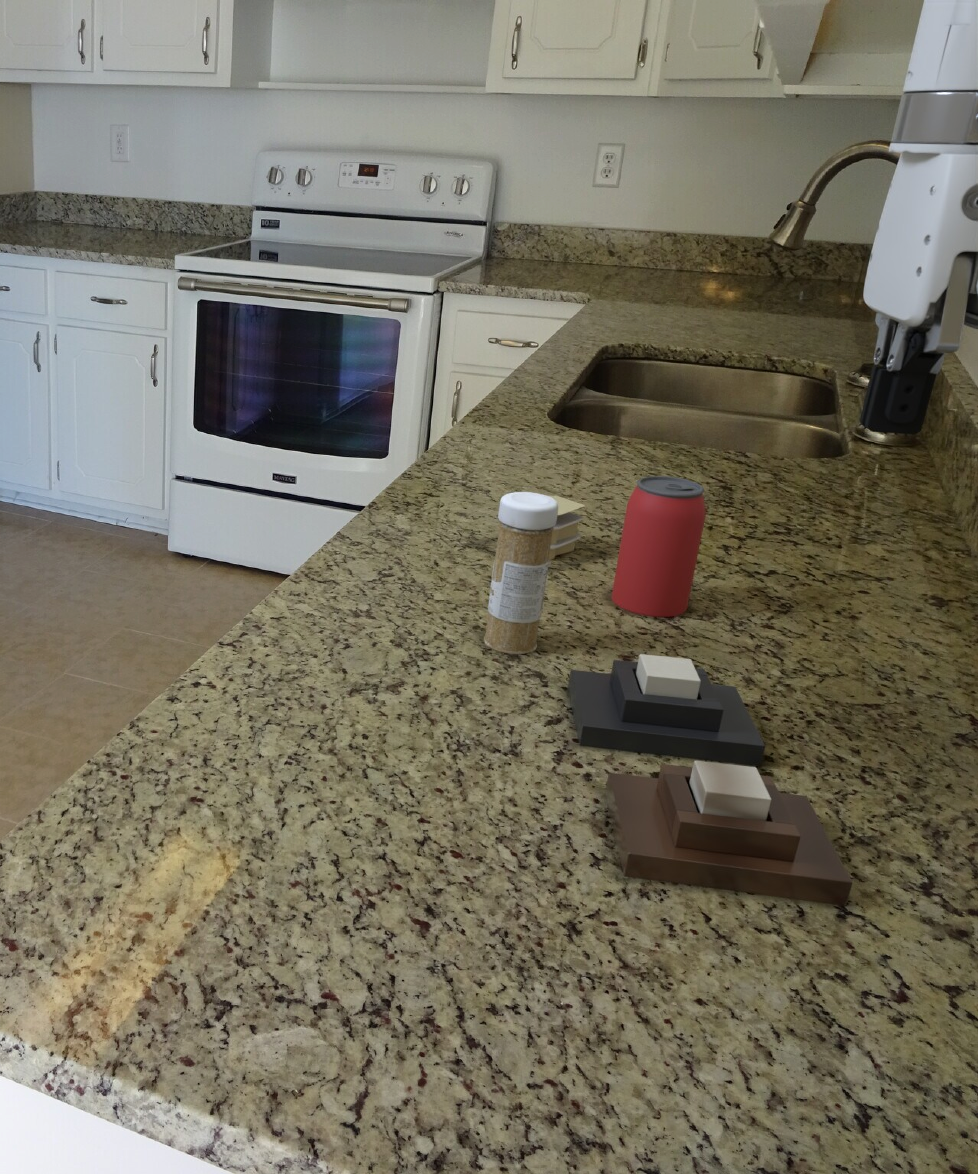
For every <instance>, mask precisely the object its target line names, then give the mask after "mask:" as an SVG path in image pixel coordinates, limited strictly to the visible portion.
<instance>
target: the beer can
mask: <svg viewBox="0 0 978 1174" xmlns="http://www.w3.org/2000/svg"><path fill="white" fill-rule="evenodd" d="M704 493H705V488H704V486H702V485H701V484H700V483H698V482H695V481H694V480H689V479H686V478H682V477H675V476H666V475H651V476H650V475H649V476H644V477H640V478H639V479H638V480H637V481H636V487H635V488H634V489H633V491H632V493H631V494H630V495H629V498H628V501H627V503H626V509H625V514H624V521H623V527H622V533H621V538H620V544H619V551H618V556H617V561H616V568H615V574H614V580H613V584H612V585H613V586H612V592H611V600H612V602H613V604H615V606H618V607H619V608H621V609H622V610H624V611H628V612H630V613H632V614H637V615H641V616H646V617H654V618H673V617H678V616H680V615H683V614H685V612H686V611H687V610H688V606H689V602H690V597H691V590H692V586H693V582H694V576H695V572H696V567H697V561H698V556H699V551H700V546H701V541H702V537H703V531H704V526H705V521H706V516H707V512H706V511H707V510H706V509H707V508H706V503H705V499H704Z"/></svg>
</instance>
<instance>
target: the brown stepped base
mask: <svg viewBox="0 0 978 1174" xmlns="http://www.w3.org/2000/svg"><path fill="white" fill-rule="evenodd" d="M692 768H693V766H683V765H676V764H675V765H673V764H666V763H661V765H660V769H659V773H658V777H650V776H642V775H633V774H625V773H616V772H609V773H608V776H607V782H606V786H605V791H604V795H605V800H606V804H607V809H608V814H609V817H610V822H611V827H612V830H613V834H614V839H615V843H616V848H617V852H618V857H619V861H620V865H621V870H622V873H623V876H624V877H627V878H633V879H643V880H648V881H649V880H650V881H657V882H664V883H671V884H679V885H686V886H693V887H694V886H695V887H701V888H708V889H716V890H724V891H731V892H737V893H738V892H739V893H746V894H752V895H760V896H761V895H762V896H766V897H767V896H768V897H777V898H782V899H783V898H784V899H790V900H798V901H804V902H805V901H806V902H812V903H813V902H814V903H820V904H827V905H835V906H844V907H846V906H847V902H848V900H849V897H850V894H851V891H852V890H851V889H852V887H853V880H852V878H851V877H850V875H849V872H848V871H847V869H846V868H845V866H844V864H843V862H842V860H841V858H840V856H839V854H838V852H837V850H836V849H835V847H834V844H833V843H832V841H831V839H830V837H829V835H828V833H827V832H826V829H825V827H824V826H823V824H822V822H821V820H820V818H819V817H818V815H817V812H816V810H815V809H814V807H813V804H812V803H811V801H810V800H809V797H808V796H807V795H802V794H794V793H786V792H780V791H779V790H778V787H777V785H776V784H775V781H774V780H773V777H772V776H769V775H762V774H760V776H761V778H762V780H763V783H764V785H765V787H766V789H767V791H768V793H769V795H770V797H771V803H770V807H769V811H768V815H767V819H766V821H760V820H752V819H744V818H736V817H727V816H719V815H711V814H703V813H700V812H699V809H698V806H697V804H696V801H695V798H694V795H693V793H692V790H691V787H690V784H689V782H690V778H691V773H692Z"/></svg>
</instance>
